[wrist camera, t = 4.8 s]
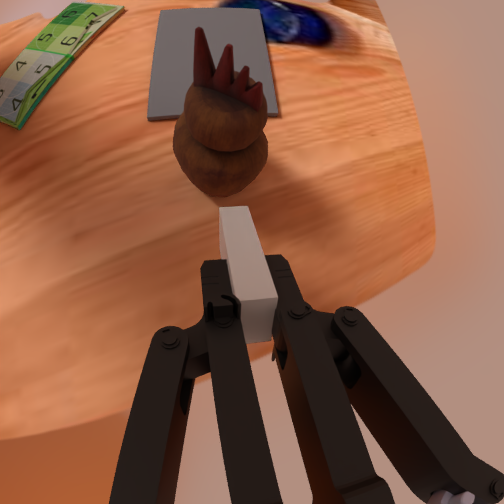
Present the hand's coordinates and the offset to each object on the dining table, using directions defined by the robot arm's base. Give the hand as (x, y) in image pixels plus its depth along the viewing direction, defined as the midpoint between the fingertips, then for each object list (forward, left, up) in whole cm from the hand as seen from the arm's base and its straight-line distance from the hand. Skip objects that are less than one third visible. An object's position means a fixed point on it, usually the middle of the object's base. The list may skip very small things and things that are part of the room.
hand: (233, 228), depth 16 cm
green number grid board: (-32, -1, -9) cm, 34 cm away
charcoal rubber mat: (-17, +12, -8) cm, 22 cm away
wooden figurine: (-5, +4, -8) cm, 11 cm away
